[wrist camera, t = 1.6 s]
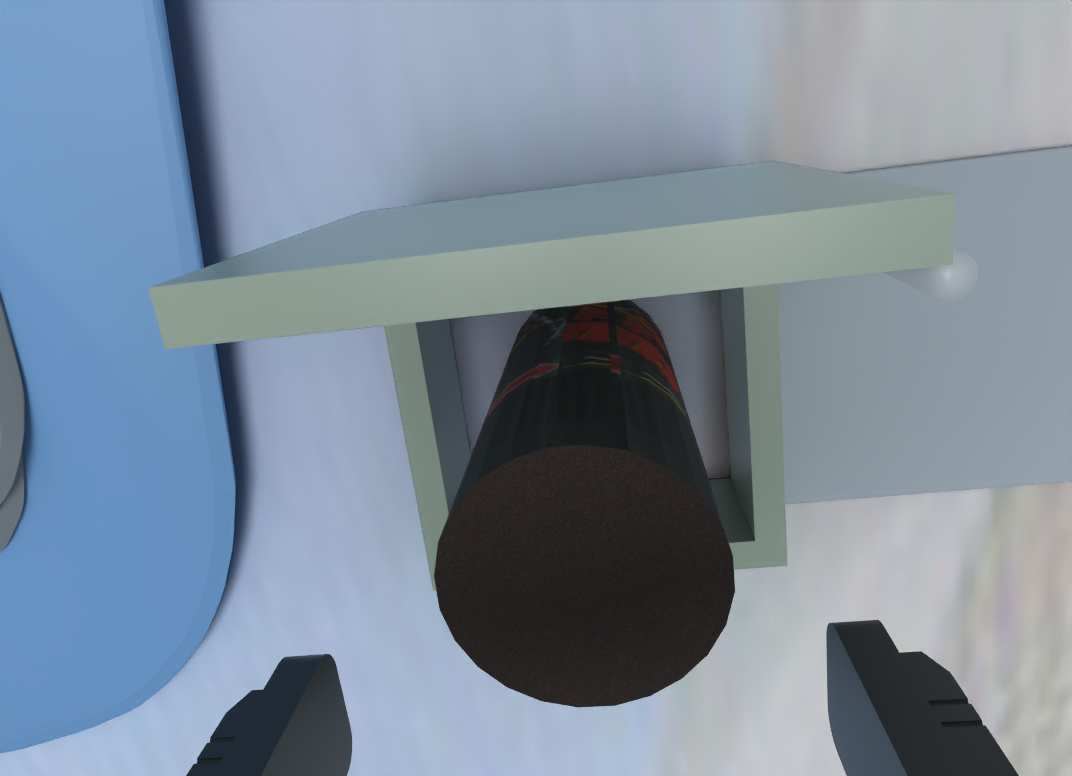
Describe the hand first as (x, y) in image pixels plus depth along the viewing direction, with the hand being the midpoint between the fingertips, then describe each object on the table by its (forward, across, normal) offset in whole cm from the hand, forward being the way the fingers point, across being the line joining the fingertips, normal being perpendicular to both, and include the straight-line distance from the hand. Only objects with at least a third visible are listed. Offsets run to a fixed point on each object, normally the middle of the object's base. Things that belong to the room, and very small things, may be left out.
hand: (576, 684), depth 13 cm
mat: (+18, -13, 0) cm, 22 cm away
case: (+18, 0, 0) cm, 18 cm away
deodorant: (+18, 0, 0) cm, 18 cm away
